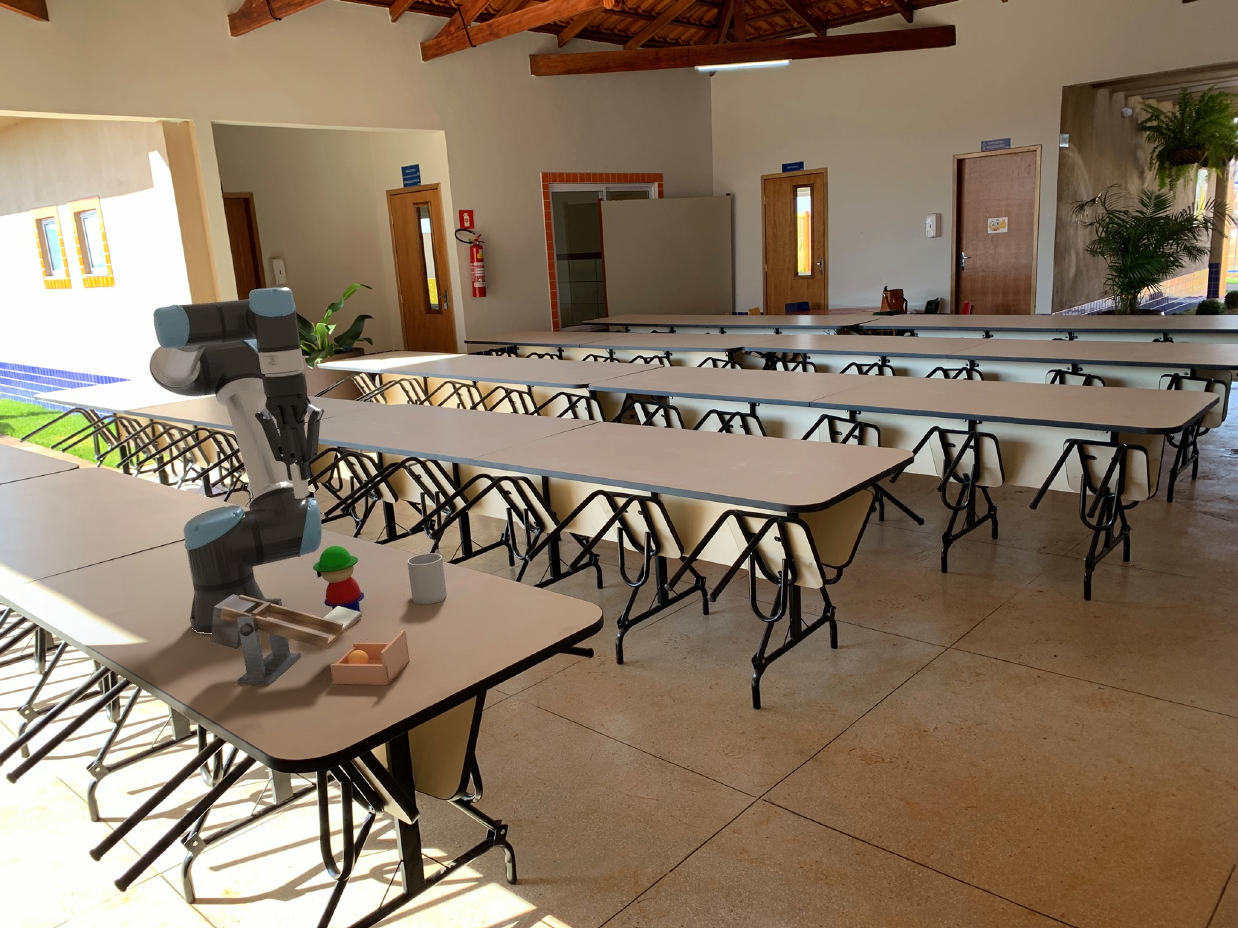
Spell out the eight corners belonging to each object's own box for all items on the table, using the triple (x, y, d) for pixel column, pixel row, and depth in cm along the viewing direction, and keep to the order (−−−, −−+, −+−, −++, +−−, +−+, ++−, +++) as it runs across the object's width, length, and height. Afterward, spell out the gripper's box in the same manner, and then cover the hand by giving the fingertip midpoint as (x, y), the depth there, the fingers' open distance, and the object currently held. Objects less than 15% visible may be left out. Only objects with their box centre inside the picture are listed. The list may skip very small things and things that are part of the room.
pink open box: (333, 683, 157) (328, 651, 156) (357, 659, 166) (352, 629, 164) (388, 684, 155) (383, 652, 154) (409, 660, 164) (405, 629, 163)
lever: (209, 642, 161) (212, 604, 159) (254, 611, 175) (258, 574, 173) (321, 675, 159) (326, 636, 156) (358, 640, 172) (363, 604, 170)
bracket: (237, 684, 159) (226, 620, 157) (271, 656, 170) (261, 596, 167) (268, 684, 158) (257, 620, 156) (300, 656, 169) (291, 596, 166)
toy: (333, 628, 181) (322, 557, 178) (314, 617, 188) (302, 548, 184) (373, 613, 187) (363, 544, 184) (354, 604, 193) (344, 537, 190)
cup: (422, 607, 189) (417, 567, 187) (400, 596, 196) (395, 557, 194) (453, 597, 193) (448, 557, 191) (430, 586, 201) (425, 548, 199)
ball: (362, 656, 158) (363, 674, 159) (371, 648, 161) (371, 665, 162) (344, 654, 159) (344, 672, 159) (353, 645, 162) (353, 663, 163)
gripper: (239, 377, 164) (260, 502, 170) (305, 375, 162) (324, 501, 168) (262, 371, 172) (281, 491, 177) (325, 368, 169) (343, 490, 175)
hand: (302, 496), depth 173 cm, fingers closed
